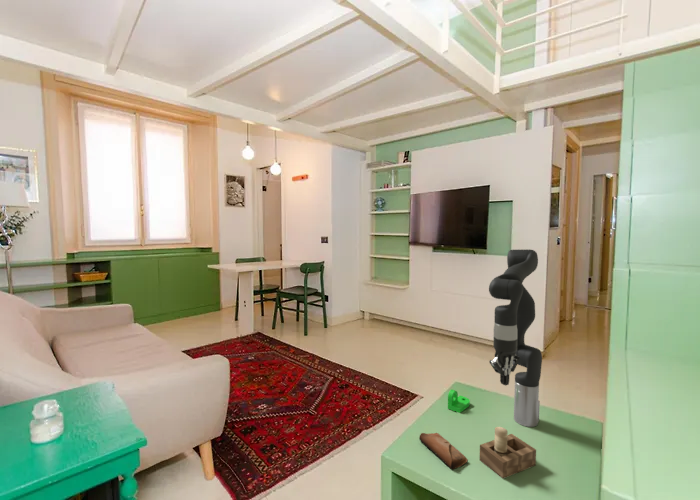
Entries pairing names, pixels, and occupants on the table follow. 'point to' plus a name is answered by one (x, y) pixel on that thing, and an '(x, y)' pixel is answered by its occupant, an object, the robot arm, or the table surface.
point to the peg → (500, 441)
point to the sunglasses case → (443, 450)
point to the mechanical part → (457, 402)
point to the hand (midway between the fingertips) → (504, 384)
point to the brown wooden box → (508, 457)
